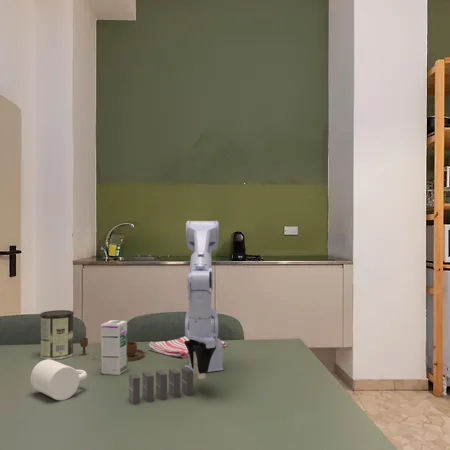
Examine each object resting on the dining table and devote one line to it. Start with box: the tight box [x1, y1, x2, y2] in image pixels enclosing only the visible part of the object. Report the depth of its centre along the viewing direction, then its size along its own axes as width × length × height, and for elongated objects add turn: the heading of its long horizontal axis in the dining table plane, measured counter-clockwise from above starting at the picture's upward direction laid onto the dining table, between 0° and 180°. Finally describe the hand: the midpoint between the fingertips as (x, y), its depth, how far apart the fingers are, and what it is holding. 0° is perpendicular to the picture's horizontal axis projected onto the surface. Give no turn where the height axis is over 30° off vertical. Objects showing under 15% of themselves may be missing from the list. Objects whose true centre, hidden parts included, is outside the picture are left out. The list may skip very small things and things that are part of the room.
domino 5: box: [180, 366, 194, 397], centre depth 123 cm, size 2×4×6 cm, turn 25°
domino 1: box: [128, 372, 141, 405], centre depth 117 cm, size 2×4×6 cm, turn 25°
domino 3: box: [155, 369, 168, 401], centre depth 120 cm, size 2×4×6 cm, turn 25°
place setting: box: [79, 337, 150, 362], centre depth 161 cm, size 18×20×6 cm
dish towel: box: [148, 335, 228, 360], centre depth 170 cm, size 17×23×4 cm
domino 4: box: [168, 368, 181, 399], centre depth 122 cm, size 2×4×6 cm, turn 25°
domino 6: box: [193, 351, 206, 380], centre depth 125 cm, size 2×4×6 cm, turn 25°
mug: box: [30, 359, 88, 401], centre depth 123 cm, size 12×10×8 cm
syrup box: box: [100, 319, 129, 376], centre depth 141 cm, size 6×6×14 cm
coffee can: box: [40, 309, 74, 361], centre depth 159 cm, size 10×10×14 cm
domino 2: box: [141, 371, 155, 403], centre depth 119 cm, size 2×4×6 cm, turn 25°
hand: (199, 370), depth 125 cm, fingers closed on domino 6, 4 cm apart
